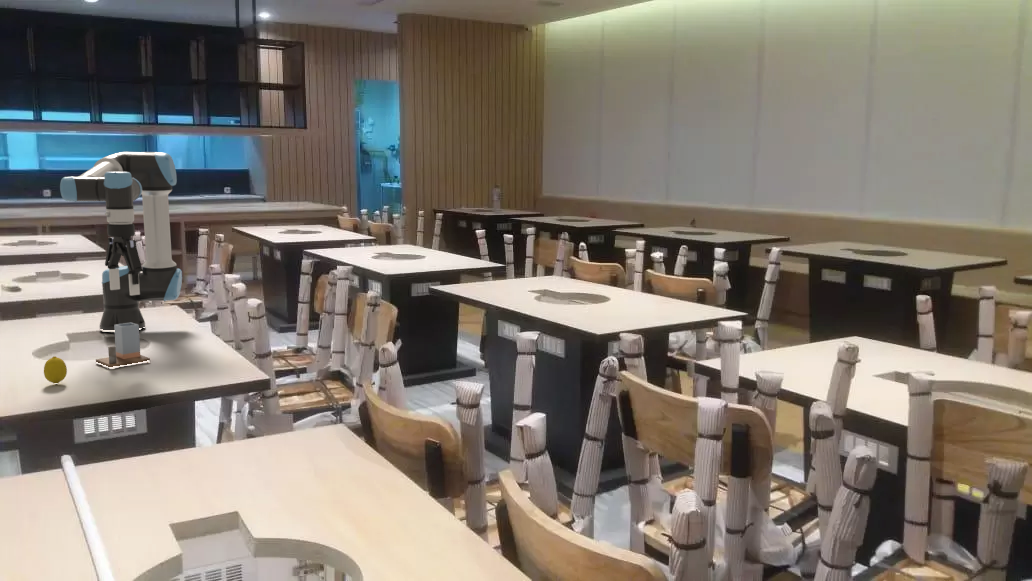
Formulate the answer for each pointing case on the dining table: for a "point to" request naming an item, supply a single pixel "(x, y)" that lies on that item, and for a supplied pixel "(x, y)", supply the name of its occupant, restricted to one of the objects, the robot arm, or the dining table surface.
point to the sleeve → (127, 340)
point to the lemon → (55, 370)
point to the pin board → (119, 359)
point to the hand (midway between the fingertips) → (124, 292)
